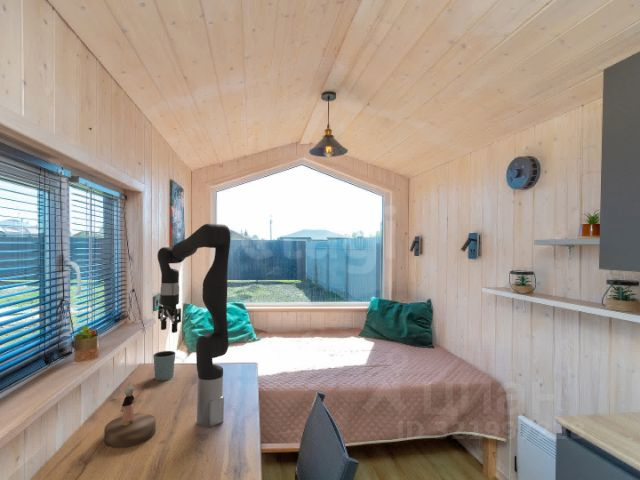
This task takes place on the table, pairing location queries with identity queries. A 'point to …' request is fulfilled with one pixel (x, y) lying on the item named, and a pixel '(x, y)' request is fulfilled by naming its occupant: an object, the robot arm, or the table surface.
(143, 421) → the walnut plinth
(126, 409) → the grandmother figurine
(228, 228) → the robot arm
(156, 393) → the table surface
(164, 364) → the grey-green cup
